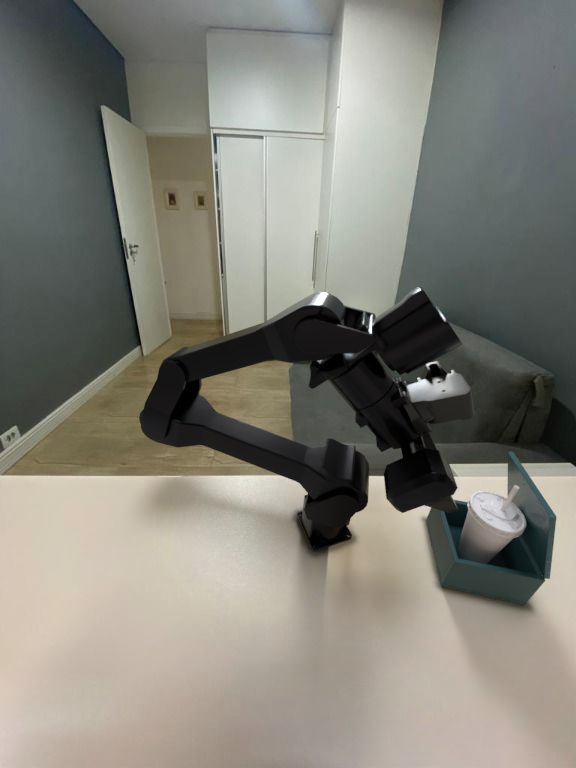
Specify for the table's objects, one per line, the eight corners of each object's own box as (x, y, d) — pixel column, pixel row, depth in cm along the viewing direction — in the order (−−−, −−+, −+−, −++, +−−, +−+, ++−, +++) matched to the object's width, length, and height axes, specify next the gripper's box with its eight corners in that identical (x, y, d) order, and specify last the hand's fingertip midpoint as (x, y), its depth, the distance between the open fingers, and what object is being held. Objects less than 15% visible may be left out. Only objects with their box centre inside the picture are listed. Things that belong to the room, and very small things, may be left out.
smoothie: (504, 583, 41) (555, 513, 34) (453, 572, 42) (492, 502, 35) (487, 539, 46) (528, 472, 39) (442, 530, 47) (474, 462, 40)
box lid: (549, 516, 32) (556, 516, 32) (507, 451, 41) (512, 451, 40) (544, 579, 36) (550, 579, 36) (507, 508, 45) (511, 507, 45)
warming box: (440, 586, 40) (454, 561, 38) (425, 520, 49) (435, 496, 46) (525, 605, 39) (545, 580, 36) (493, 533, 48) (508, 509, 45)
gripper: (469, 399, 23) (557, 525, 27) (422, 323, 39) (482, 409, 43) (346, 459, 28) (437, 558, 32) (349, 370, 44) (409, 443, 48)
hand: (443, 480), depth 39 cm, fingers open, 9 cm apart
